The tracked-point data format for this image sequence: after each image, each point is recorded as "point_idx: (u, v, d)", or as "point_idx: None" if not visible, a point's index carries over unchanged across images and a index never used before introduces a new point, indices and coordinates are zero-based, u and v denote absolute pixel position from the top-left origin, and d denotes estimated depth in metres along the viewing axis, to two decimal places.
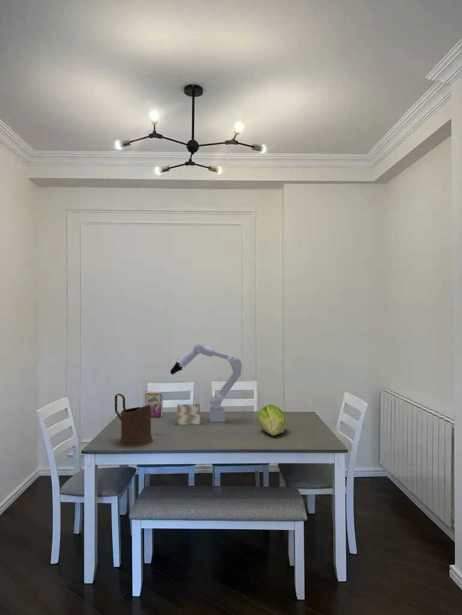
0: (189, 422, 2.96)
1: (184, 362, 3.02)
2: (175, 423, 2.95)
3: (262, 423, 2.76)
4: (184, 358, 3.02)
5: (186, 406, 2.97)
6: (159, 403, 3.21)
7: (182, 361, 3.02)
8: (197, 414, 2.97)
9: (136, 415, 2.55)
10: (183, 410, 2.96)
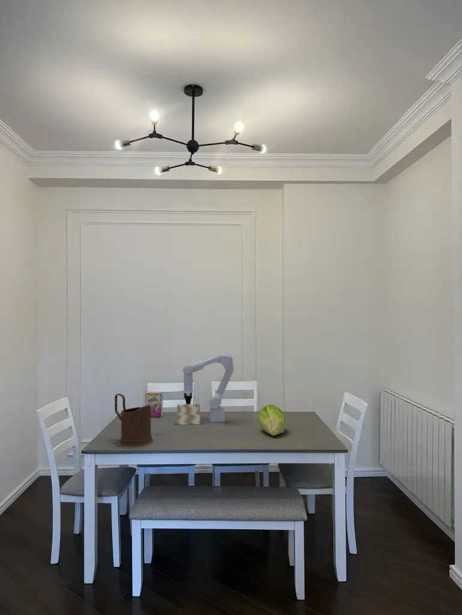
0: (189, 422, 2.96)
1: (189, 389, 3.06)
2: (175, 423, 2.95)
3: (262, 423, 2.76)
4: (186, 386, 3.06)
5: (186, 406, 2.97)
6: (159, 403, 3.21)
7: (187, 390, 3.06)
8: (197, 414, 2.97)
9: (136, 415, 2.55)
10: (183, 410, 2.96)
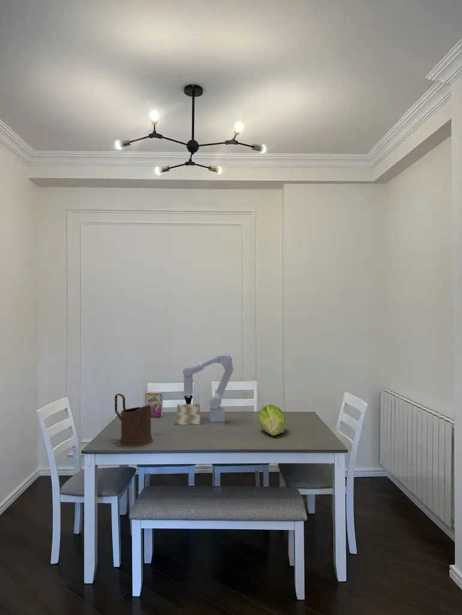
0: (189, 422, 2.96)
1: (189, 391, 3.06)
2: (175, 423, 2.95)
3: (262, 423, 2.76)
4: (186, 388, 3.06)
5: (186, 406, 2.97)
6: (159, 403, 3.21)
7: (187, 392, 3.06)
8: (197, 414, 2.97)
9: (136, 415, 2.55)
10: (183, 410, 2.96)
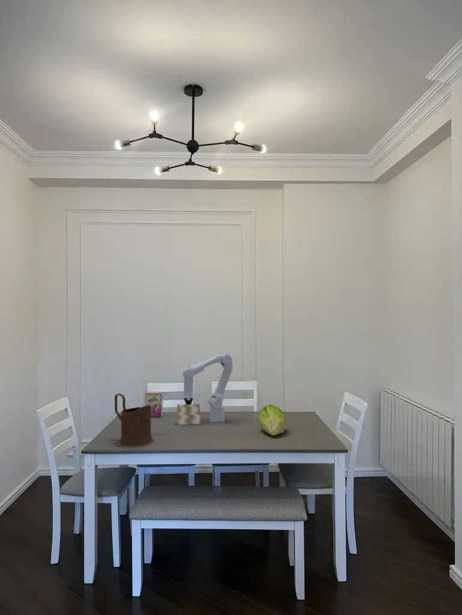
0: (189, 422, 2.96)
1: (189, 393, 2.97)
2: (175, 423, 2.95)
3: (262, 423, 2.76)
4: (186, 390, 2.97)
5: (186, 406, 2.97)
6: (159, 403, 3.21)
7: (187, 394, 2.97)
8: (197, 414, 2.97)
9: (136, 415, 2.55)
10: (183, 410, 2.96)
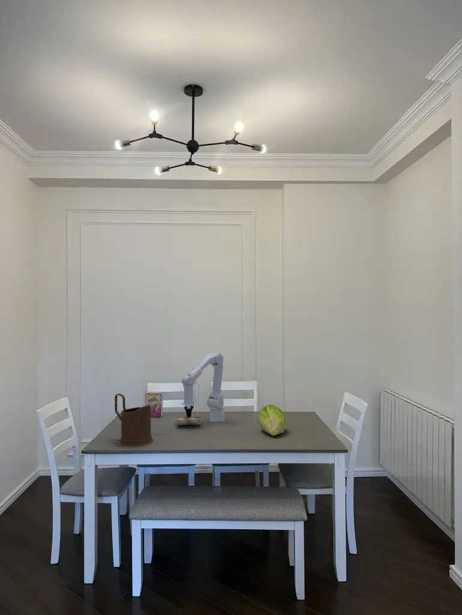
0: (189, 424, 2.95)
1: (189, 401, 2.86)
2: (175, 423, 2.95)
3: (262, 423, 2.76)
4: (186, 398, 2.87)
5: (186, 419, 2.87)
6: (159, 403, 3.21)
7: (187, 402, 2.86)
8: (197, 422, 2.92)
9: (136, 415, 2.55)
10: (183, 421, 2.89)
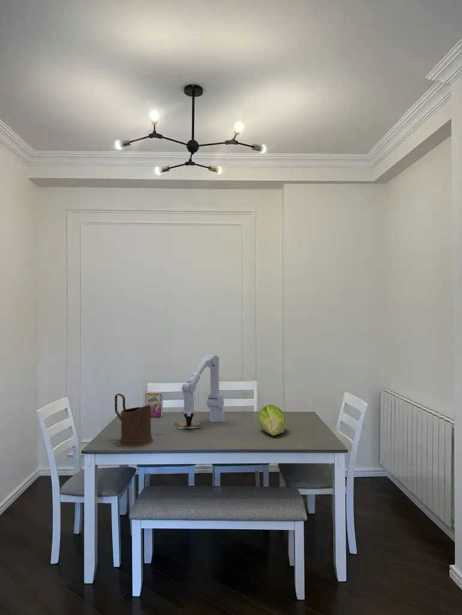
0: None
1: (189, 408, 2.82)
2: (175, 423, 2.95)
3: (262, 423, 2.76)
4: (186, 406, 2.82)
5: None
6: (159, 403, 3.21)
7: (187, 409, 2.82)
8: None
9: (136, 415, 2.55)
10: None
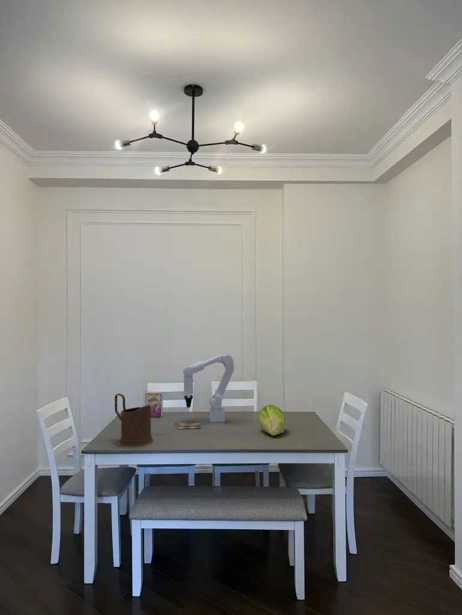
0: None
1: (189, 391, 3.00)
2: (175, 423, 2.95)
3: (262, 423, 2.76)
4: (186, 388, 3.00)
5: None
6: (159, 403, 3.21)
7: (187, 392, 3.00)
8: None
9: (136, 415, 2.55)
10: None
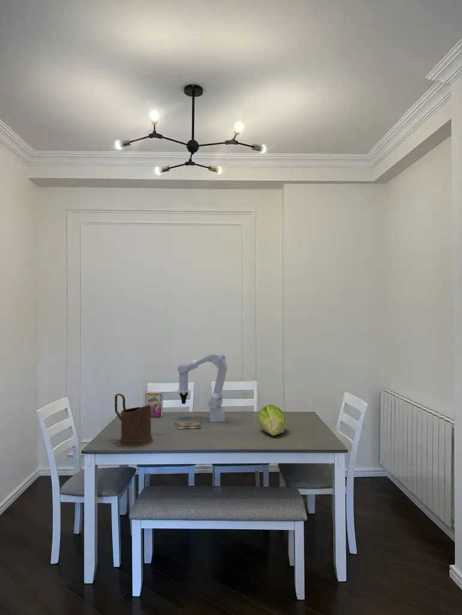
0: None
1: (184, 388, 3.12)
2: (175, 423, 2.95)
3: (262, 423, 2.76)
4: (181, 385, 3.12)
5: None
6: (159, 403, 3.21)
7: (182, 389, 3.12)
8: None
9: (136, 415, 2.55)
10: None
